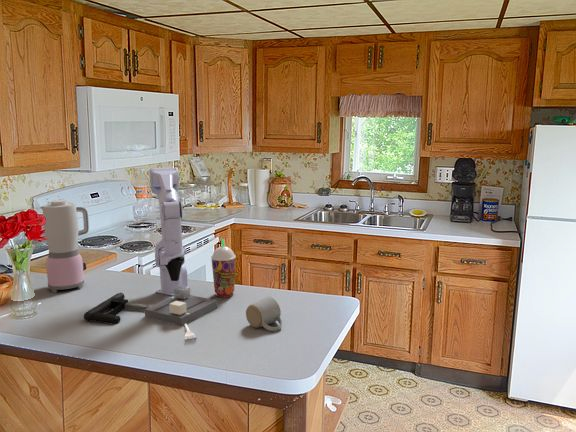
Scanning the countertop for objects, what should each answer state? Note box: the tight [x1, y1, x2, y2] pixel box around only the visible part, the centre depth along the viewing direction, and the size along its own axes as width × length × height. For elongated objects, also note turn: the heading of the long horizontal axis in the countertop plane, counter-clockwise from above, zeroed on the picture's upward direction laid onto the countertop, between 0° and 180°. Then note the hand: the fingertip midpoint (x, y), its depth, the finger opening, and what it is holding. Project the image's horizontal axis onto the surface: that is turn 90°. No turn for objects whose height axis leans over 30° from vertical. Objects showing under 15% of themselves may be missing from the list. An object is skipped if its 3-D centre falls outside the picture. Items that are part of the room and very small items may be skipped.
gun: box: [83, 292, 150, 325], centre depth 165 cm, size 3×20×16 cm
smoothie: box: [210, 238, 237, 298], centre depth 178 cm, size 8×8×20 cm
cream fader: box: [169, 301, 187, 315], centre depth 156 cm, size 3×4×3 cm
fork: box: [183, 323, 197, 341], centre depth 151 cm, size 3×20×2 cm, turn 19°
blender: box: [39, 199, 90, 293], centre depth 187 cm, size 16×12×32 cm
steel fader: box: [173, 286, 191, 299], centre depth 170 cm, size 3×4×3 cm
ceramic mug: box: [245, 296, 283, 332], centre depth 152 cm, size 11×8×8 cm
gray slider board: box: [144, 294, 218, 327], centre depth 164 cm, size 17×15×3 cm
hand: (174, 280), depth 166 cm, fingers closed
